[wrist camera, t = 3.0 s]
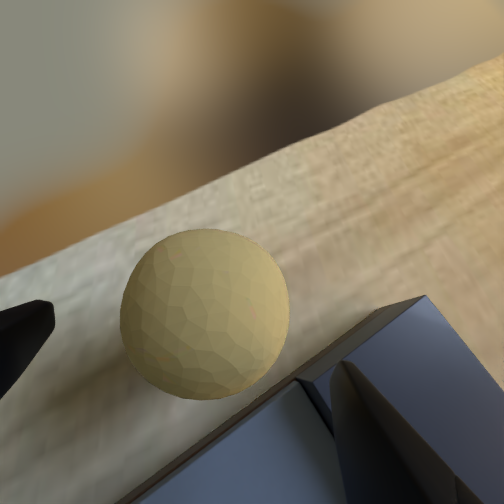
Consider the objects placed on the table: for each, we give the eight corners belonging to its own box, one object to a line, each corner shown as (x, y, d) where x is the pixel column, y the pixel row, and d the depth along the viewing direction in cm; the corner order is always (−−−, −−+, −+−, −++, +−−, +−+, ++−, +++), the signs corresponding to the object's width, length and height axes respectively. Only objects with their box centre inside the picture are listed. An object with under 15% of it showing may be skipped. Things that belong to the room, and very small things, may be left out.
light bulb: (170, 272, 18) (120, 186, 9) (265, 282, 19) (311, 210, 9) (150, 377, 16) (54, 410, 7) (259, 385, 16) (312, 425, 7)
